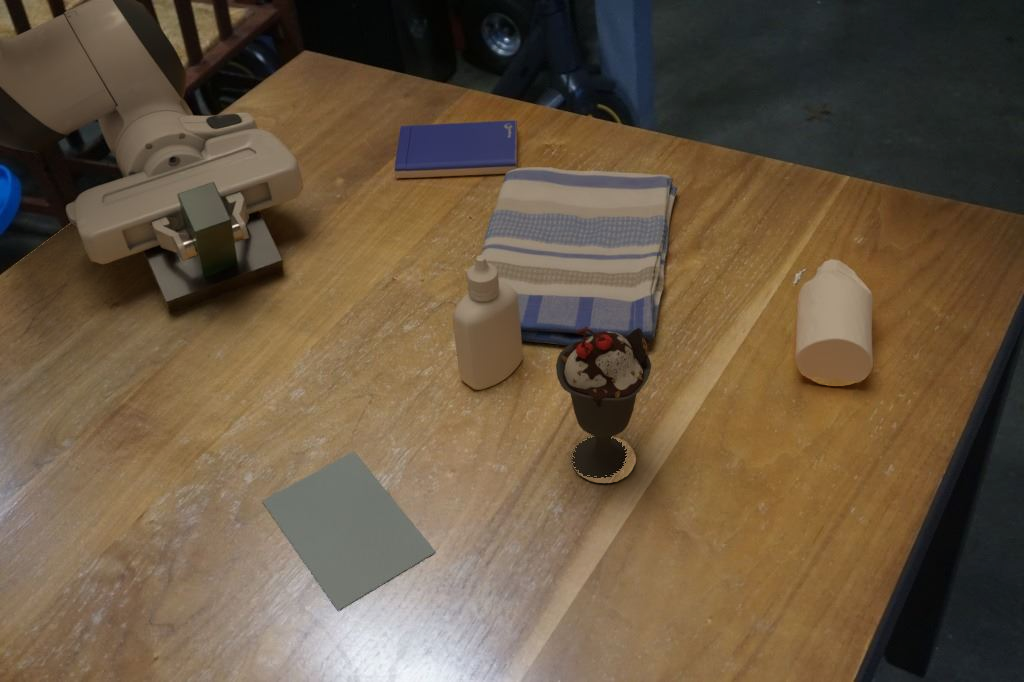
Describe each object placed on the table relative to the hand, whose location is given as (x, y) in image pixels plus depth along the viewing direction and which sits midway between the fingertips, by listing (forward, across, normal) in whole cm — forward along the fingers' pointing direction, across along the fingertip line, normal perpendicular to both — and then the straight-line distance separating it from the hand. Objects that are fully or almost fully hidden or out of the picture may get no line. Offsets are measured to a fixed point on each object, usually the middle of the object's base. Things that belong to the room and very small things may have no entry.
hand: (215, 243), depth 95 cm
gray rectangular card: (+29, -1, +7) cm, 30 cm away
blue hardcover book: (-10, +28, +7) cm, 30 cm away
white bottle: (+32, +42, +7) cm, 53 cm away
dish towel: (+12, +29, +7) cm, 32 cm away
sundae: (+33, +19, +7) cm, 39 cm away
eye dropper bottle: (+20, +16, +7) cm, 27 cm away
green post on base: (-4, 0, +6) cm, 7 cm away
